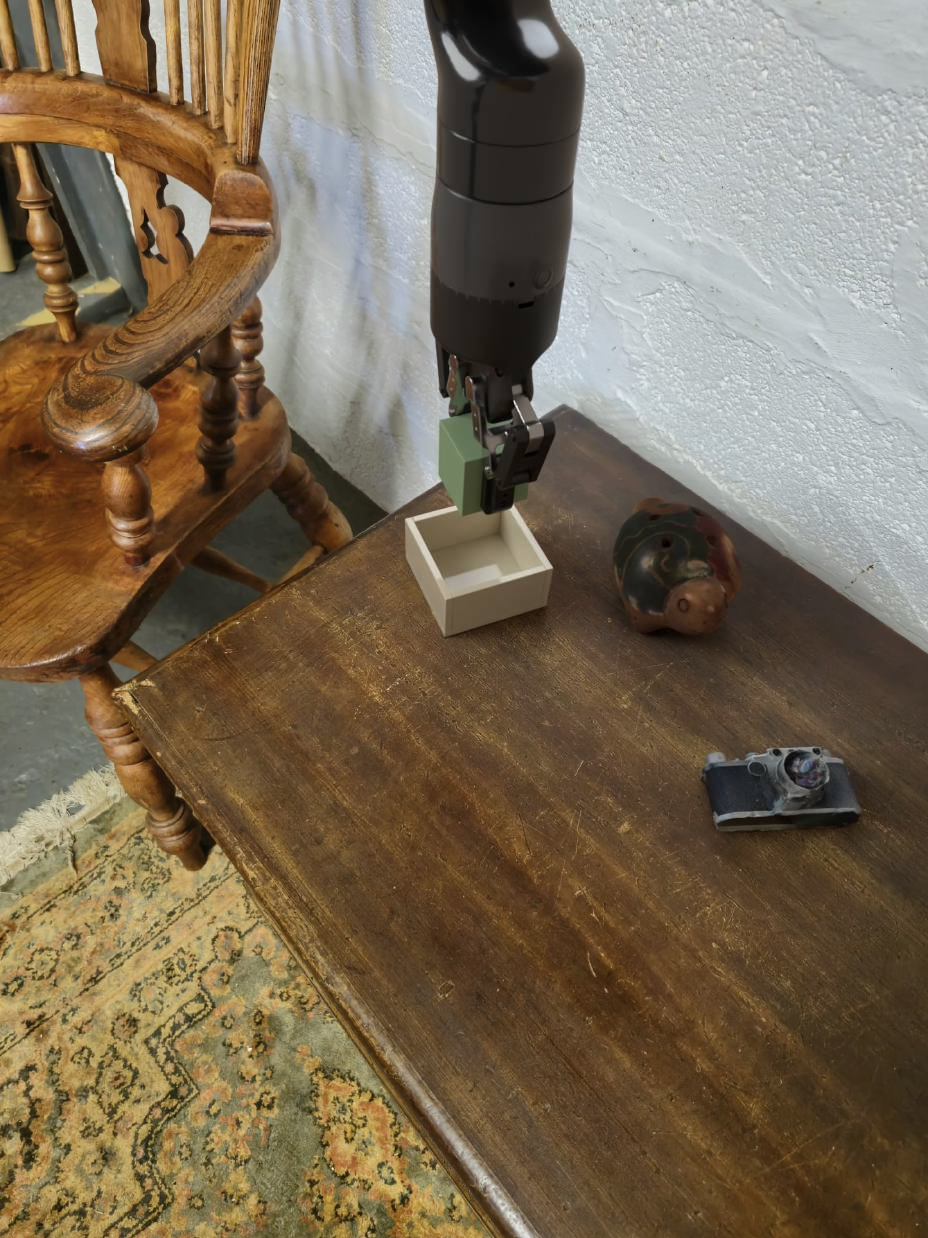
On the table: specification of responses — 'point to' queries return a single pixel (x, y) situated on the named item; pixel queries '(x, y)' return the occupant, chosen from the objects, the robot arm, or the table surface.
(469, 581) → the open square box
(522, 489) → the green box
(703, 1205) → the table surface
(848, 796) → the camera
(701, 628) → the decorative turtle
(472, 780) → the table surface
